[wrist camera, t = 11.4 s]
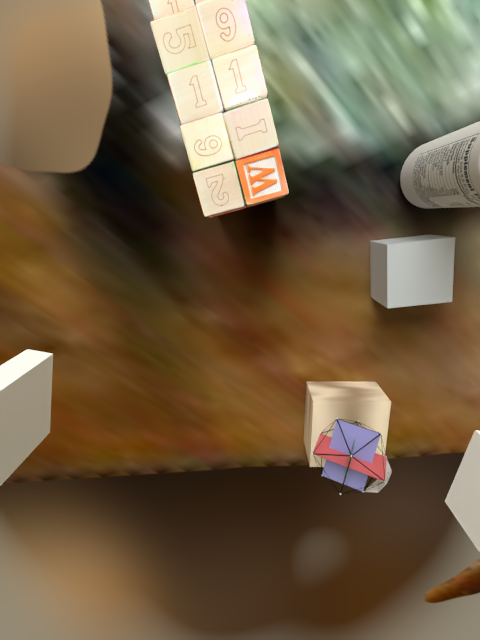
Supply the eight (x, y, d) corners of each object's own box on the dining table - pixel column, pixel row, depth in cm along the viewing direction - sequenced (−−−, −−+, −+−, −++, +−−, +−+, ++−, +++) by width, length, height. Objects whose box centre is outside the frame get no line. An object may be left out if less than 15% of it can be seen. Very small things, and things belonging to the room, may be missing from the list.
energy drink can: (462, 197, 36) (604, 186, 22) (402, 216, 37) (500, 217, 22) (454, 134, 34) (600, 76, 20) (390, 155, 35) (489, 113, 21)
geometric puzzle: (289, 469, 37) (351, 527, 31) (302, 410, 35) (371, 460, 29) (334, 451, 42) (396, 499, 36) (348, 398, 40) (417, 440, 34)
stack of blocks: (152, -28, 32) (94, -172, 20) (220, -52, 31) (202, -215, 19) (218, 217, 37) (203, 218, 25) (277, 201, 37) (290, 194, 25)
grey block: (370, 297, 39) (387, 308, 34) (369, 240, 38) (387, 244, 33) (427, 291, 39) (452, 301, 34) (428, 234, 37) (455, 237, 32)
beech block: (303, 439, 45) (309, 466, 40) (306, 380, 42) (313, 401, 38) (368, 440, 44) (383, 467, 40) (375, 380, 42) (391, 402, 37)
